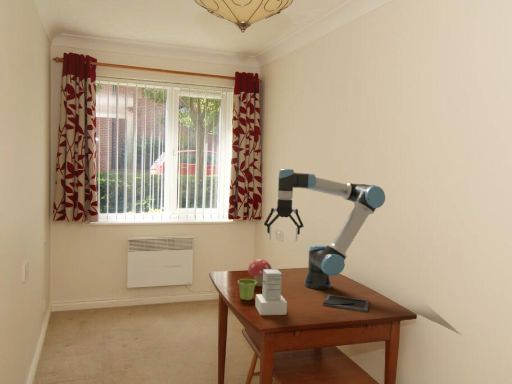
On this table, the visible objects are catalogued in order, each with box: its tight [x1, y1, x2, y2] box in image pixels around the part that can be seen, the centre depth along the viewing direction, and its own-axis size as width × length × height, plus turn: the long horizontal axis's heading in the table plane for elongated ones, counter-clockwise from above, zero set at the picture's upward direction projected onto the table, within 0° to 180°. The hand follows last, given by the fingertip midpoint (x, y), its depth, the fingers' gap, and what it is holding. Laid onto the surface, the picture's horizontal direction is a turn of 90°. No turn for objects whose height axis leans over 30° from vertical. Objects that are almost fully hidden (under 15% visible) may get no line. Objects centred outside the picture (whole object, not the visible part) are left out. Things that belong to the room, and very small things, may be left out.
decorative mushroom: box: [247, 258, 273, 287], centre depth 232 cm, size 13×13×15 cm
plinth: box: [254, 293, 288, 316], centre depth 196 cm, size 12×12×6 cm
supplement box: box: [261, 268, 283, 300], centre depth 195 cm, size 7×7×13 cm
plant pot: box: [237, 278, 257, 301], centre depth 211 cm, size 9×9×9 cm
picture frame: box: [322, 294, 370, 313], centre depth 211 cm, size 16×2×21 cm
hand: (283, 240), depth 219 cm, fingers open, 13 cm apart
